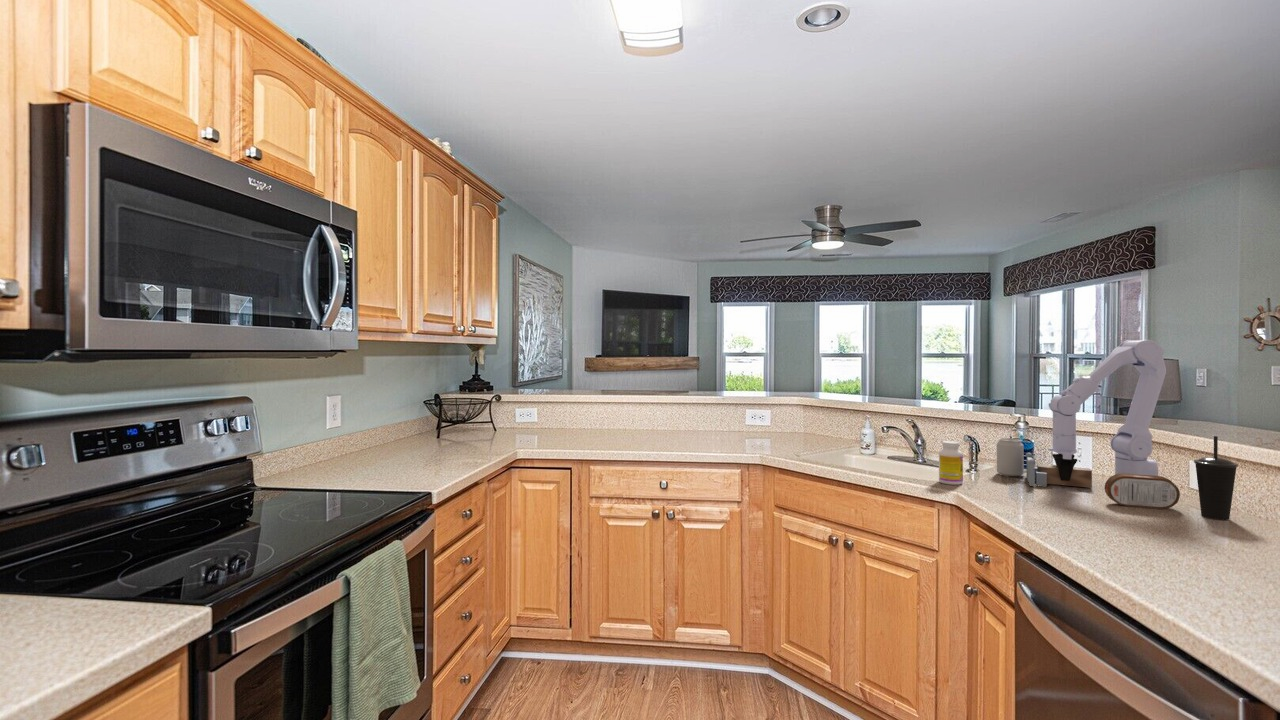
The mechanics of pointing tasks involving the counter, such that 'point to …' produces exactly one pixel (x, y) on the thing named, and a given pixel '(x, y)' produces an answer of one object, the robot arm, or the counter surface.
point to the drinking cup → (1215, 485)
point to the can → (1010, 457)
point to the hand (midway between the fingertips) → (1064, 479)
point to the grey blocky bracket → (1034, 473)
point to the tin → (1142, 491)
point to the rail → (1078, 478)
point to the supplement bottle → (950, 463)
